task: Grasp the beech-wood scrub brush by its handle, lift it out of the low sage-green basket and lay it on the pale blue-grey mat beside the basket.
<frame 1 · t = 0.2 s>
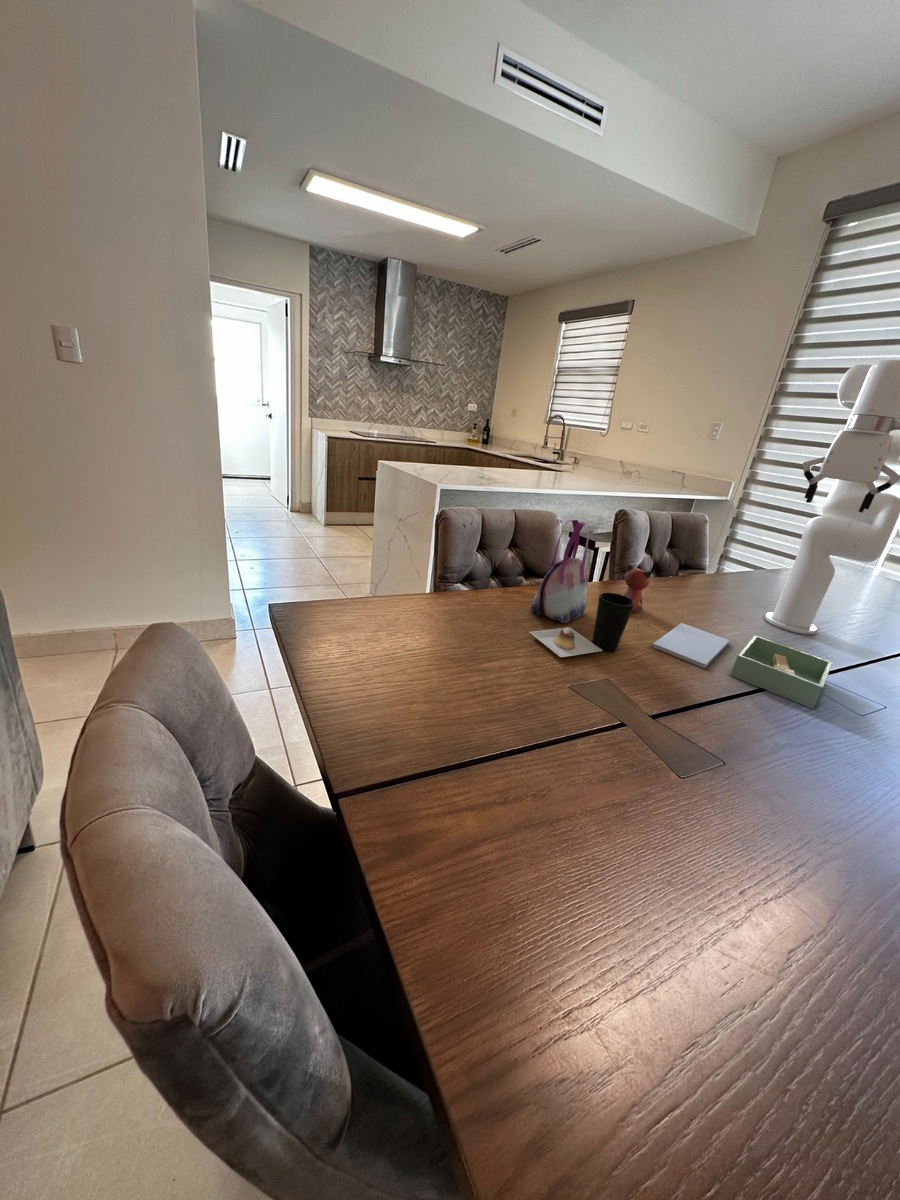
hand: (833, 507, 105), 36 cm above the table, tool pointing down, fingers open, 9 cm apart
stuffed fox: (625, 609, 134), on the table
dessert: (564, 646, 108), on the table, touching cup
basket: (776, 678, 105), on the table
brush: (777, 676, 104), point 1 cm above the table, touching basket
handbag: (557, 613, 125), on the table
cup: (604, 646, 110), on the table, touching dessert
mat: (691, 645, 116), on the table
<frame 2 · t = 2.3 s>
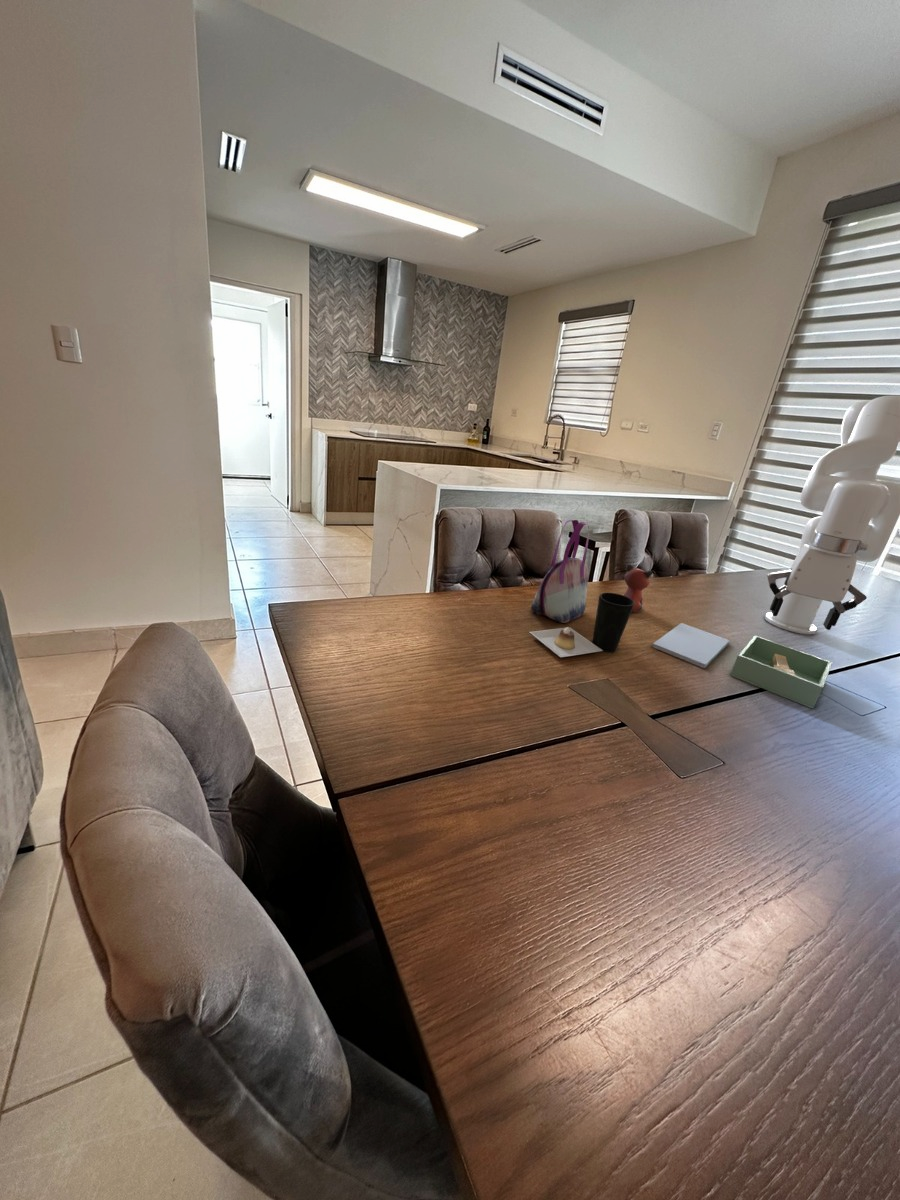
hand: (799, 620, 101), 14 cm above the table, tool pointing down, fingers open, 9 cm apart
nothing on the table moved.
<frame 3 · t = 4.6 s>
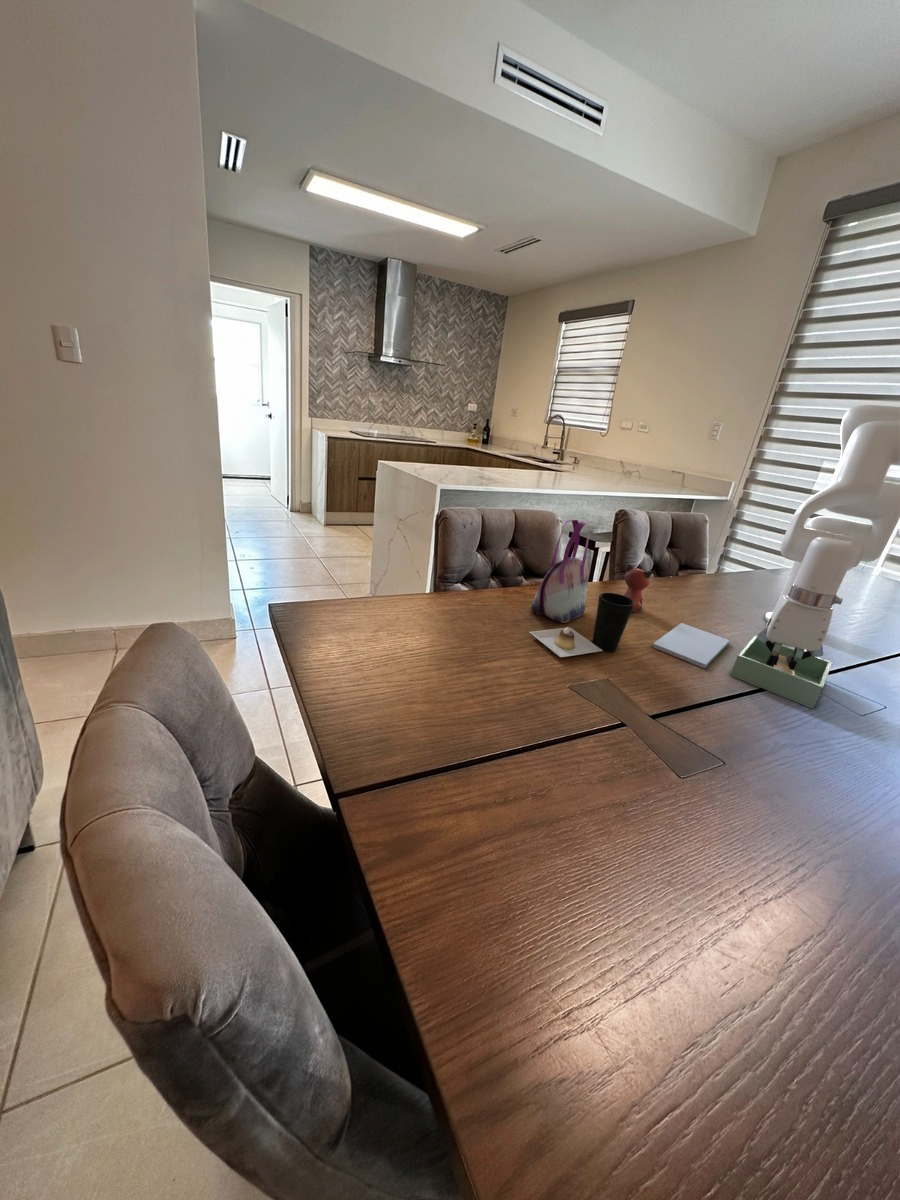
hand: (777, 671, 106), 1 cm above the table, tool pointing down, fingers closed on brush, 2 cm apart
brush: (777, 676, 104), point 1 cm above the table, touching basket, gripper
everything else where it was.
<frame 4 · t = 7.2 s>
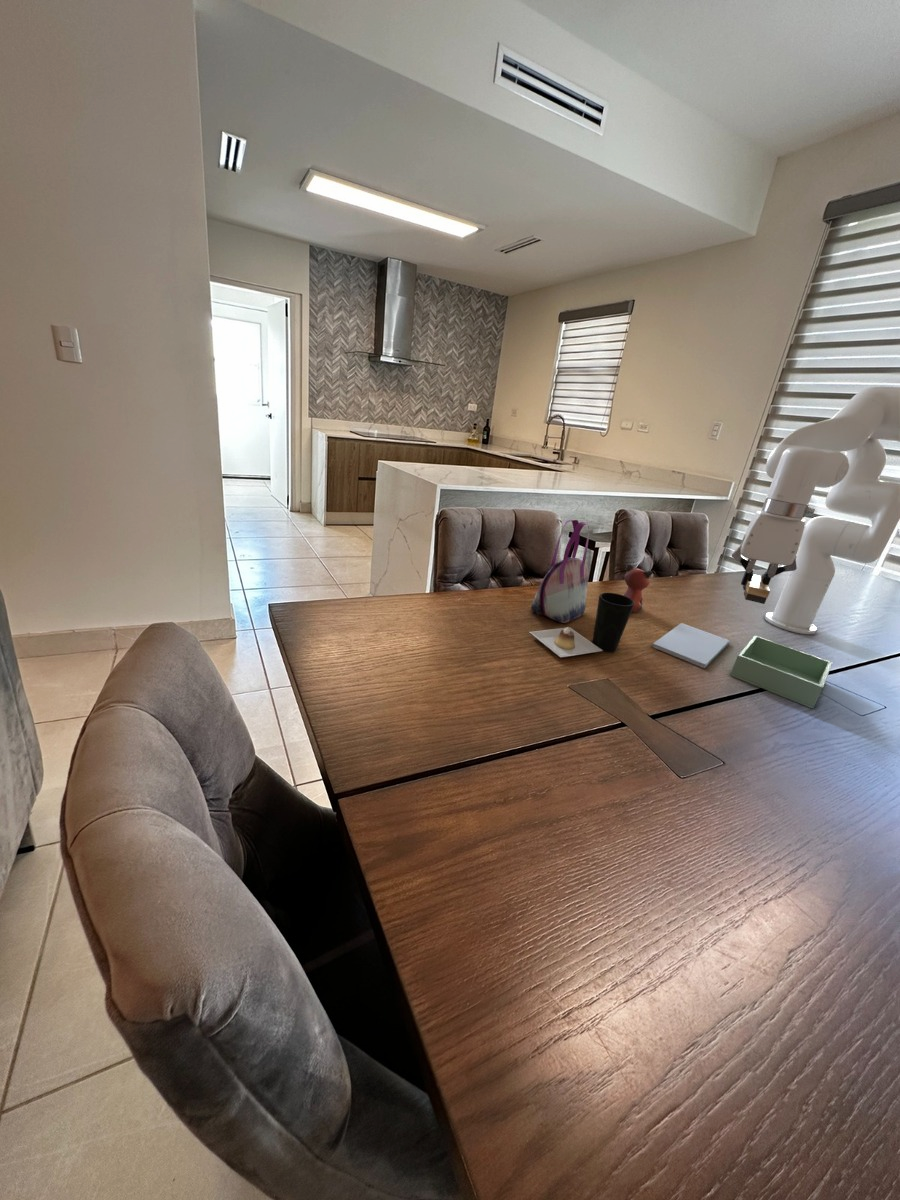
hand: (752, 589, 106), 17 cm above the table, tool pointing down, fingers closed on brush
brush: (752, 593, 104), point 17 cm above the table, touching gripper
everything else where it was.
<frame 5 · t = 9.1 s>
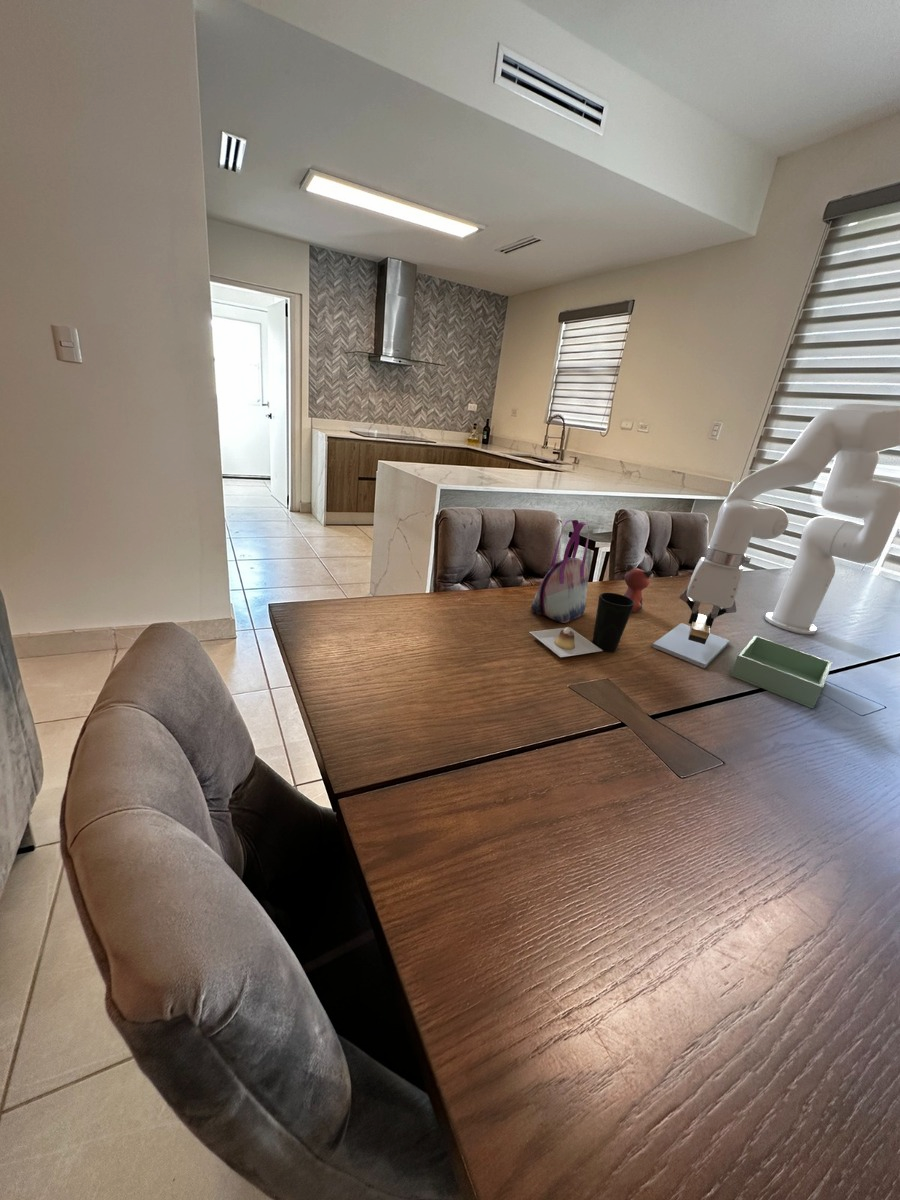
hand: (698, 628, 115), 4 cm above the table, tool pointing down, fingers closed on brush
brush: (697, 632, 114), point 4 cm above the table, touching gripper
everything else where it was.
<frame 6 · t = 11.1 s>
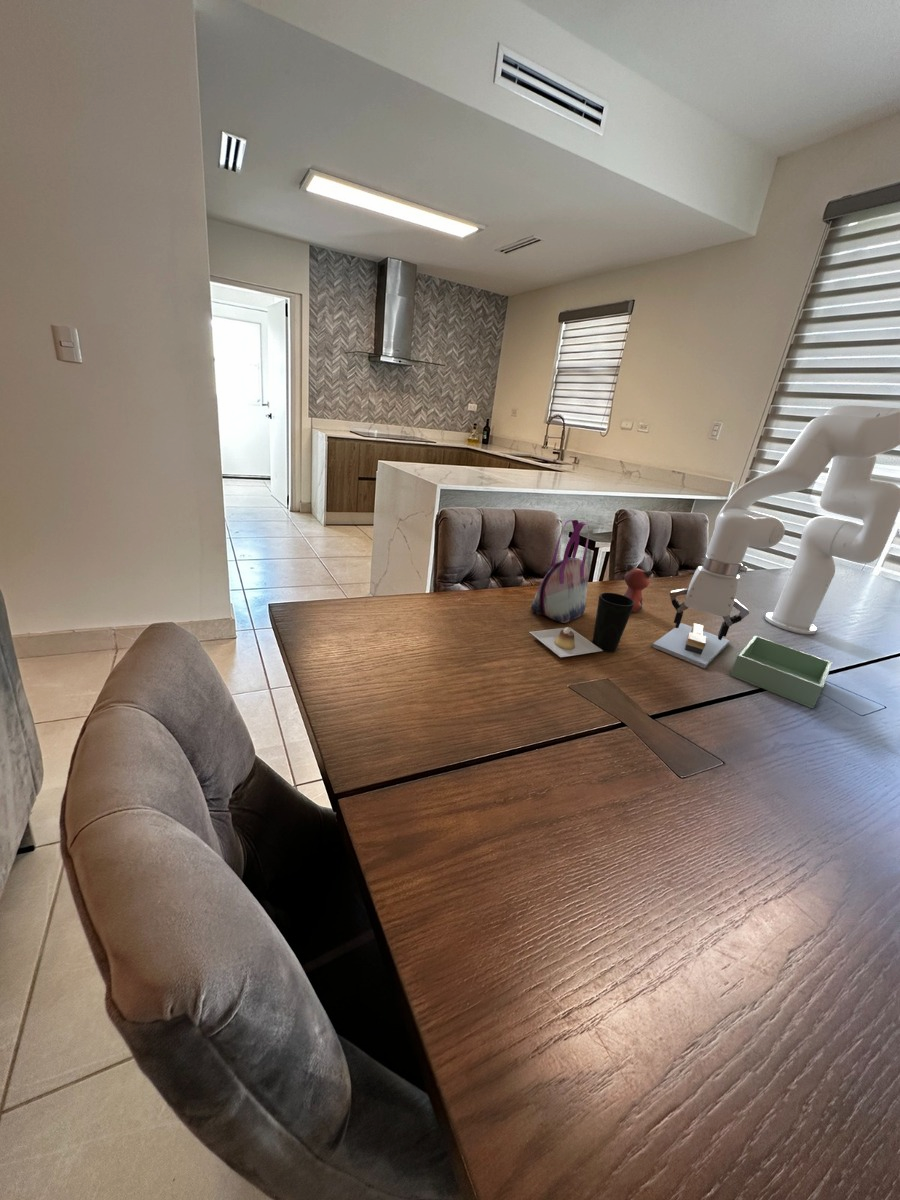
hand: (697, 632, 116), 3 cm above the table, tool pointing down, fingers open, 9 cm apart
brush: (693, 642, 115), point 1 cm above the table, touching mat
everything else where it was.
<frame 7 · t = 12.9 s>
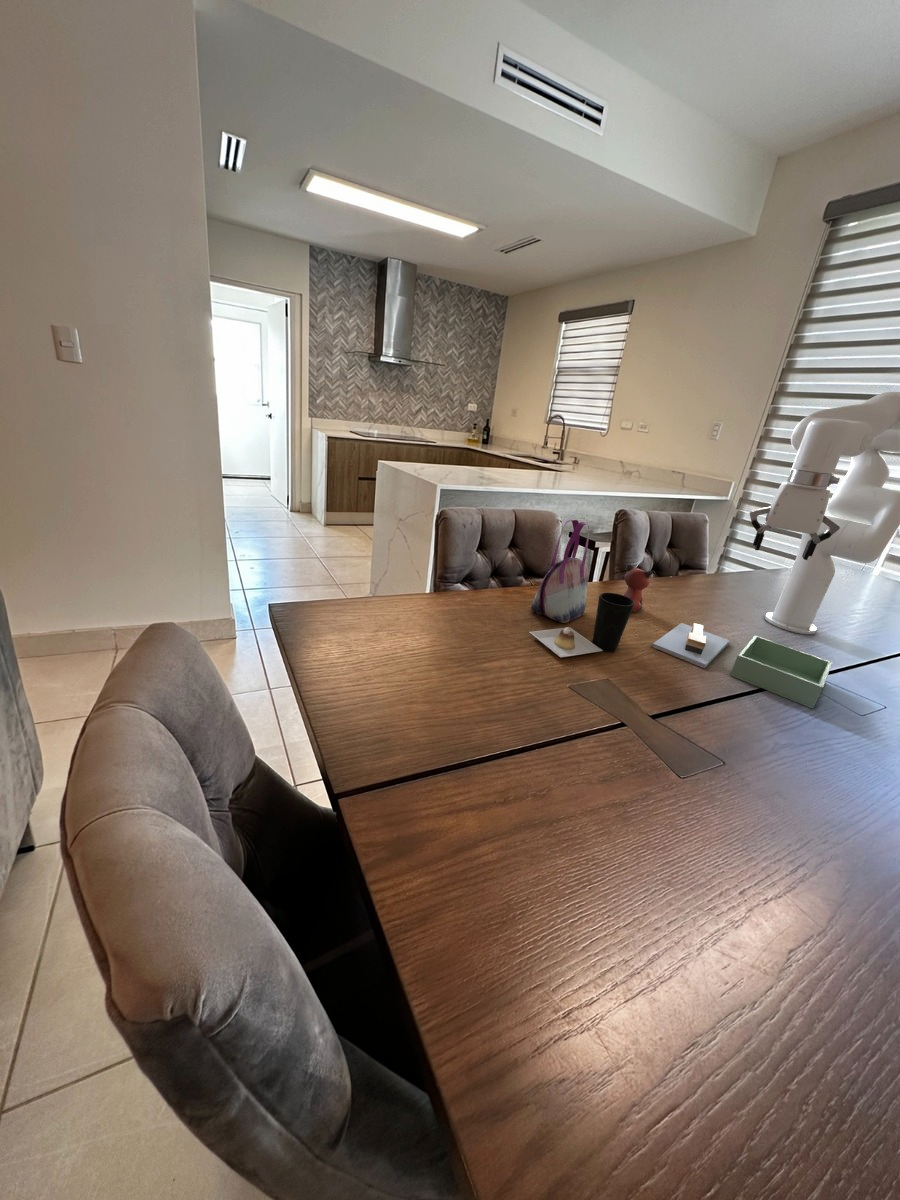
hand: (779, 553, 110), 24 cm above the table, tool pointing down, fingers open, 9 cm apart
nothing on the table moved.
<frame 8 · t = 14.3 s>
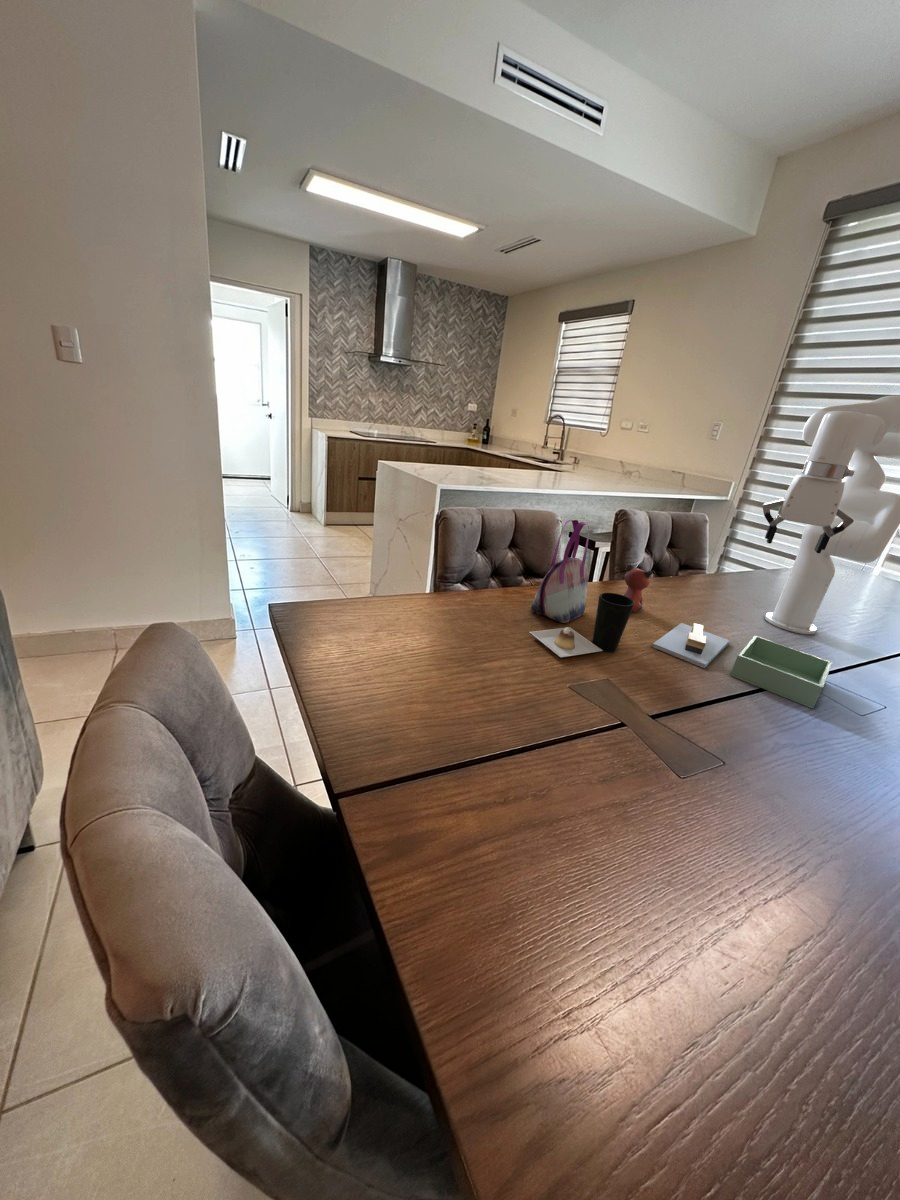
hand: (792, 547, 109), 26 cm above the table, tool pointing down, fingers open, 9 cm apart
nothing on the table moved.
at the end: brush inside the target area on the mat (0.4 cm from its centre), point 1.0 cm above the mat's base; the gripper is holding nothing; brush tilted 0° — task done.
